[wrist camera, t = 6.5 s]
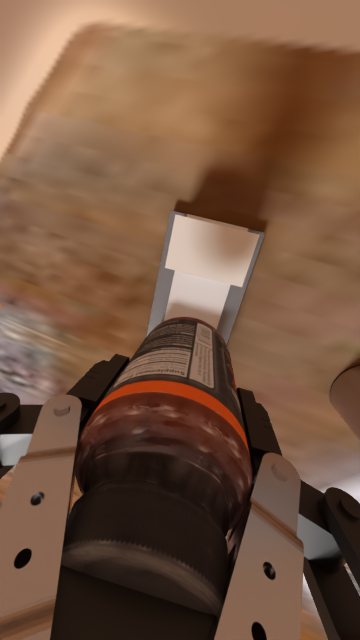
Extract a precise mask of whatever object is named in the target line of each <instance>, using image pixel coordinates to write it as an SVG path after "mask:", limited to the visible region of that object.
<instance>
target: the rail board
mask: <svg viewBox="0 0 360 640" xmlns="http://www.w3.org/2000/svg"><path fill="white" fill-rule="evenodd" d="M264 235H265V233H263V232H259V231H254V230H250V229H248V228H244V227H240V226H236V225H232V224H227V223H223V222H219V221H215V220H211V219H207V218H202V217H198V216H194V215H190V214H184V213H179V212H175V211H170V216H169V222H168V227H167V232H166V237H165V243H164V248H163V253H162V258H161V264H160V269H159V274H158V279H157V285H156V290H155V295H154V300H153V306H152V311H151V316H150V321H149V326H148V332H147V336H148V335H149V333H150V332H151V331H152V330H153V329H154V328H155V327H156V326H157V325H159V324H160V323H162V322H164V321H166V320H169V319H171V318H176V317H192V318H197V319H200V320H202V321H204V322H206V323H208V324H210V325H211V326H213V327H214V328H215V329H216V330H217V331H218V332H219V333H220V334H221V336H222V337H223V339H224V340H225V343H226V345H227V342H228V339H229V336H230V333H231V330H232V328H233V325H234V322H235V319H236V316H237V313H238V310H239V307H240V304H241V302H242V299H243V296H244V293H245V290H246V287H247V284H248V281H249V278H250V276H251V273H252V270H253V267H254V264H255V261H256V258H257V255H258V252H259V249H260V247H261V244H262V241H263V238H264Z"/></svg>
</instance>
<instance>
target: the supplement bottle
mask: <svg viewBox="0 0 360 640" xmlns="http://www.w3.org/2000/svg"><path fill="white" fill-rule="evenodd" d="M75 475H76V479H77V482H78V486H79V488H80V491H81V493H82V494H83V495H82V496H81V497H80V498H79V499H78V500H77V501H76V502H75V503H74V505H73V507H72V509H71V512H70V514H69V519H68V521H67V522H68V528H67V530H66V533H65V540H64V547H63V555H62V564H61V565H63V566H65V567H68V568H71V569H74V570H77V571H79V572H82V573H85V574H88V575H91V576H94V577H97V578H100V579H103V580H106V581H109V582H112V583H116V584H119V585H122V586H125V587H128V588H131V589H134V590H137V591H140V592H143V593H146V594H149V595H152V596H155V597H158V598H161V599H165V600H168V601H171V602H174V603H177V604H180V605H183V606H186V607H189V608H191V609H194V610H197V611H200V612H204V613H208V614H211V615H215V616H216V614H217V612H218V610H219V608H220V605H221V602H222V598H223V594H224V588H225V584H226V581H227V576H228V568H227V564H228V561H229V558H228V546H227V541H226V538H225V537H226V535H227V532H228V530H230V529H232V528H233V526H234V525H235V524H236V523H237V522H238V521H239V519H240V517H241V516H242V515H243V513H244V510H245V507H246V504H247V501H248V498H249V495H250V492H251V488H252V466H251V460H250V455H249V450H248V445H247V440H246V434H245V428H244V424H243V418H242V413H241V408H240V403H239V399H238V395H237V390H236V385H235V379H234V373H233V368H232V364H231V358H230V354H229V351H228V348H227V345H226V343H225V340H224V339H223V337H222V336H221V334H220V333H219V332H218V331H217V330H216V329H215V328H214V327H213V326H211V325H210V324H208V323H206V322H204V321H202V320H200V319H197V318H192V317H176V318H171V319H169V320H166V321H164V322H162V323H160V324H159V325H157V326H156V327H155V328H154V329H153V330H152V331H151V332H150V333H149V335H148V336H147V337H146V338H145V340H144V341H143V343H142V344H141V346H140V347H139V348H138V350H137V351H136V353H135V354H134V355H133V357H132V358H131V360H130V361H129V363H128V364H127V365H126V367H125V368H124V370H123V371H122V372H121V374H120V375H119V377H118V378H117V380H116V381H115V382H114V384H113V385H112V387H111V388H110V390H109V391H108V392H107V394H106V395H105V396H104V398H103V400H102V401H101V403H100V404H99V406H98V407H97V408H96V410H95V411H94V413H93V414H92V416H91V417H90V418H89V420H88V422H87V423H86V425H85V427H84V429H83V431H82V433H81V435H80V437H79V440H78V443H77V451H76V459H75Z"/></svg>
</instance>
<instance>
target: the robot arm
mask: <svg viewBox="0 0 360 640" xmlns="http://www.w3.org/2000/svg"><path fill="white" fill-rule="evenodd" d="M128 363H129V357H126V356H122V355H118V354H115V355H114V356H113V357H112V359H111V360H110V361H105V360H103V361H101V362H99V363H96V364H95V365H94V366H93V367H92V368H91V369H90V370H89V371H88V372H87V373H86V374H85V376H83V377H82V378H81V379H80V380H79V381H78V382H77V383H76V384H75V386H74V387H73V388H72V389H71V390H70V391H69V392H68V393H67V394H66V395H60V396H56V397H53V398H51V399H50V400H48V401H47V402H46V403H45V404H44V405H20V399H19V397H18V396H17V395H15V394H12V393H0V479H1V478H2V477H3V476H4V475H5V474H6V473H7V472H8V471H9V470H10V469H11V468H12V467H14V466H15V465H16V468H15V471H14V474H13V476H12V479H11V482H10V485H9V487H8V490H7V493H6V496H5V498H4V501H3V504H2V507H1V510H0V640H300V626H301V605H302V584H303V573H304V576H305V579H306V581H307V584H308V587H309V589H310V592H311V595H312V597H313V600H314V603H315V605H316V608H317V611H318V613H319V616H320V619H321V621H322V624H323V627H324V629H325V632H326V635H327V637H328V640H360V596H359V594H358V592H357V590H356V588H355V586H354V584H353V582H352V580H351V578H350V576H349V574H348V572H347V570H346V568H345V566H344V565H345V564H346V563H347V564H348V566H349V568H350V570H351V572H352V574H353V576H354V578H355V580H356V582H357V584H358V586H359V588H360V503H359V502H358V501H357V500H355V499H354V498H353V497H352V496H351V495H349V494H348V493H346V492H345V491H343V490H341V489H338V488H334V487H331V488H328V489H327V490H326V492H325V493H322V492H320V491H319V490H317V489H315V488H313V487H312V486H310V485H308V484H307V483H305V482H303V481H302V480H301V479H300V477H299V474H298V472H297V470H296V469H295V468H294V466H293V465H292V464H291V463H290V462H289V461H288V460H287V459H285V458H284V457H283V456H282V453H281V450H280V447H279V445H278V442H277V439H276V436H275V433H274V430H273V427H272V425H271V423H270V419H269V416H268V413H267V411H266V410H265V409H264V407H263V406H262V405H261V404H260V403H256V401H255V398H254V395H253V392H252V391H249V390H245V389H242V388H237V389H236V390H237V395H238V399H239V403H240V408H241V413H242V418H243V424H244V428H245V434H246V440H247V445H248V450H249V455H250V460H251V466H252V488H251V492H250V495H249V498H248V501H247V504H246V507H245V510H244V513H243V515H242V516H241V517H240V519H239V521H238V522H237V523H236V524H235V525H234V526H233V528H232V529H230V531H229V534H228V537H227V540H226V541H227V546H228V558H229V561H228V564H227V568H228V576H227V581H226V584H225V588H224V594H223V598H222V602H221V605H220V608H219V610H218V612H217V614H216V616H215V615H211V614H208V613H204V612H200V611H197V610H194V609H191V608H189V607H186V606H183V605H180V604H177V603H174V602H171V601H168V600H165V599H161V598H158V597H155V596H152V595H149V594H146V593H143V592H140V591H137V590H134V589H131V588H128V587H125V586H122V585H119V584H116V583H112V582H109V581H106V580H103V579H100V578H97V577H94V576H91V575H88V574H85V573H82V572H79V571H77V570H74V569H71V568H68V567H65V566H63V565H61V564H62V555H63V547H64V540H65V533H66V530H67V528H68V522H67V521H68V519H69V514H70V512H71V508H72V499H73V490H74V482H75V459H76V451H77V443H78V440H79V437H80V435H81V433H82V431H83V429H84V427H85V425H86V423H87V422H88V420H89V418H90V417H91V416H92V414H93V413H94V411H95V410H96V408H97V407H98V406H99V404H100V403H101V401H102V400H103V398H104V396H105V395H106V394H107V392H108V391H109V390H110V388H111V387H112V385H113V384H114V382H115V381H116V380H117V378H118V377H119V375H120V374H121V372H122V371H123V370H124V368H125V367H126V365H127V364H128ZM330 400H331V403H332V405H333V406H334V408H335V409H336V410H337V412H338V413H339V414H340V415H341V417H342V418H343V419H344V421H345V422H346V423H347V425H348V426H349V427H350V429H351V430H352V431H353V432H354V434H355V435H356V436H357V438H358V439H359V440H360V366H356V367H354V368H351V369H349V370H347V371H346V372H344V373H343V374H341V375H340V376H339V377H338V378H337V379H336V381H335V382H334V383H333V385H332V387H331V391H330Z"/></svg>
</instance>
